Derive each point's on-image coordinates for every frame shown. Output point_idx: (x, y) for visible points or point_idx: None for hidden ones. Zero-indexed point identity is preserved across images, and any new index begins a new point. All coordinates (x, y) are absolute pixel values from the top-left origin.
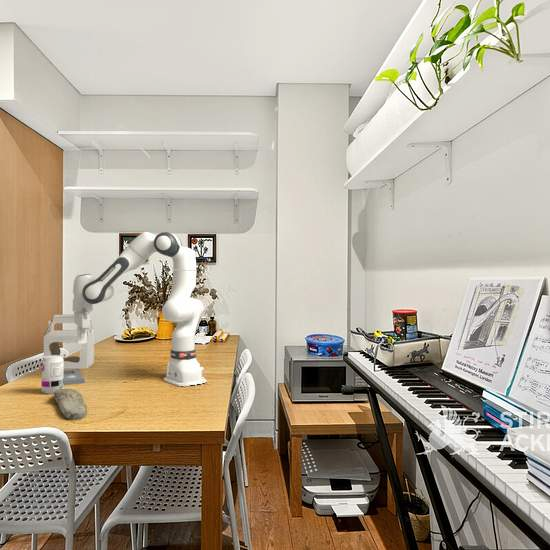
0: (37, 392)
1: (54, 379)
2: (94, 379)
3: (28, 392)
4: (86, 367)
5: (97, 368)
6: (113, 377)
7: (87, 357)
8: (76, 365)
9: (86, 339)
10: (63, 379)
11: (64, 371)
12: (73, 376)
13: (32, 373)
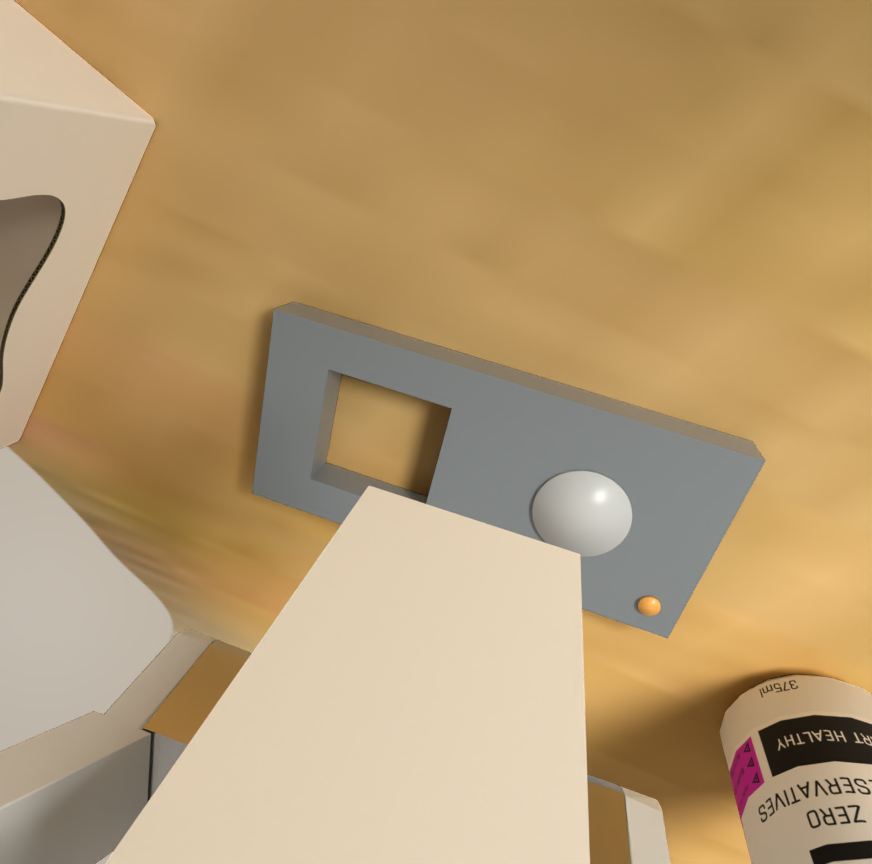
0: (718, 777)
1: None
2: (711, 302)
3: (663, 799)
4: (146, 129)
5: (211, 13)
6: (831, 66)
7: (50, 104)
8: (88, 223)
9: (579, 627)
10: (647, 606)
11: (316, 445)
12: (604, 499)
13: (121, 548)
